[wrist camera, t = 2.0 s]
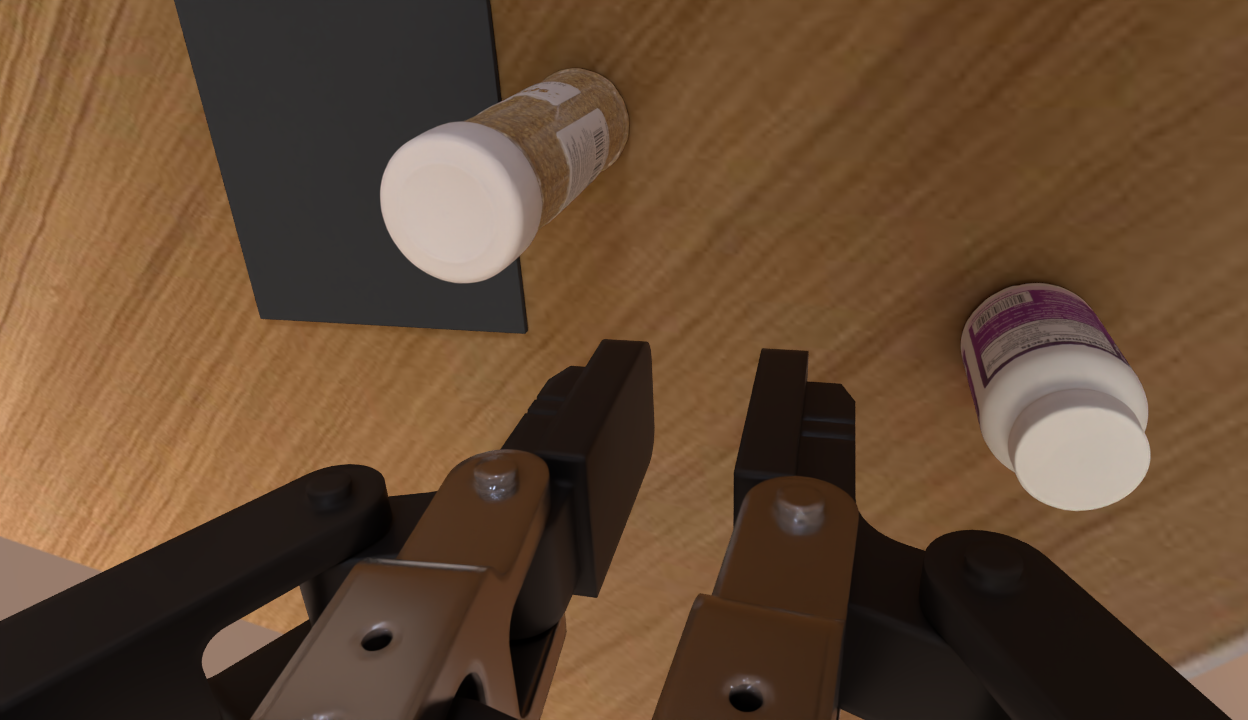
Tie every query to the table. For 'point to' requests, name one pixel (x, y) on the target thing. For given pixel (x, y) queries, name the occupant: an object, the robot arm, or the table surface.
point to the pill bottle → (1056, 397)
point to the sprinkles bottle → (500, 174)
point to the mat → (341, 148)
